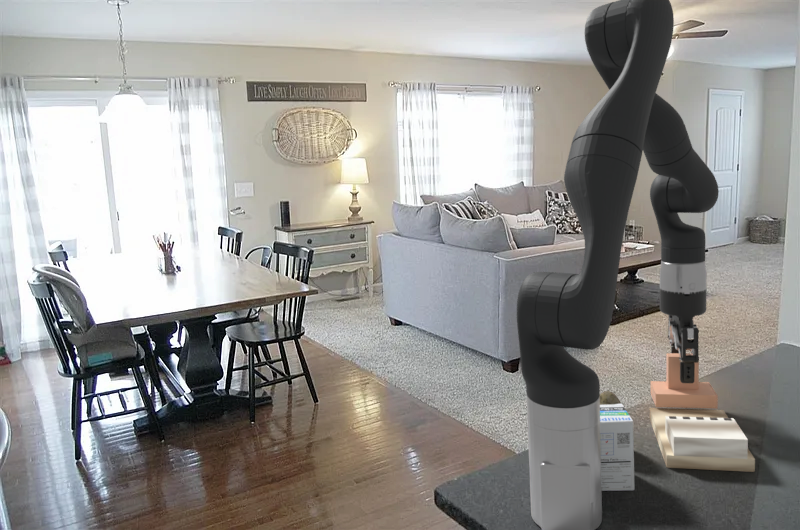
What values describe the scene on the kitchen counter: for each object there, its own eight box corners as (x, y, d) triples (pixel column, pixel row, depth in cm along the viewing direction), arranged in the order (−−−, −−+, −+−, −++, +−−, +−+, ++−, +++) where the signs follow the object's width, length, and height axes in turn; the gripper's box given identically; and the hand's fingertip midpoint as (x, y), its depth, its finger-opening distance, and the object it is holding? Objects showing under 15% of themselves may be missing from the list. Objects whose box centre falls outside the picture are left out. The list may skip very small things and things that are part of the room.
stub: (717, 408, 108) (718, 362, 106) (655, 406, 110) (655, 361, 109) (708, 394, 114) (709, 350, 112) (650, 393, 116) (650, 350, 115)
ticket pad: (754, 471, 91) (755, 439, 90) (666, 467, 94) (666, 435, 93) (722, 420, 108) (723, 392, 107) (649, 418, 111) (649, 391, 110)
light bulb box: (624, 468, 95) (623, 401, 93) (636, 492, 88) (635, 420, 86) (552, 469, 96) (550, 403, 94) (559, 493, 89) (557, 422, 87)
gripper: (653, 278, 117) (654, 361, 119) (666, 295, 103) (666, 388, 106) (697, 277, 115) (696, 361, 118) (716, 294, 101) (714, 389, 104)
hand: (682, 374), depth 112 cm, fingers open, 8 cm apart
